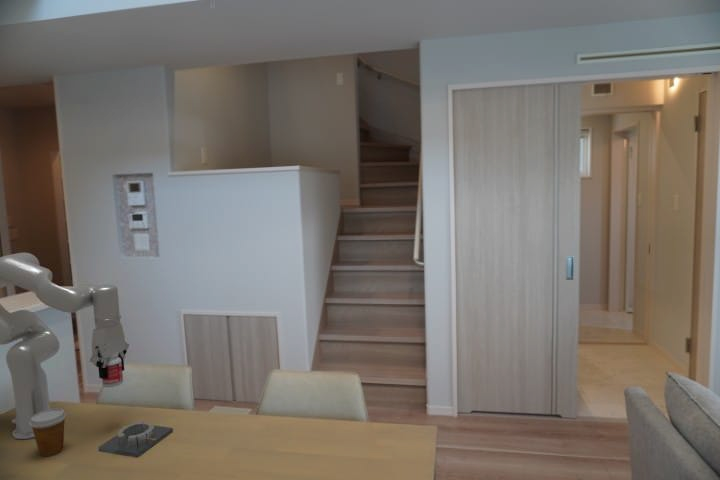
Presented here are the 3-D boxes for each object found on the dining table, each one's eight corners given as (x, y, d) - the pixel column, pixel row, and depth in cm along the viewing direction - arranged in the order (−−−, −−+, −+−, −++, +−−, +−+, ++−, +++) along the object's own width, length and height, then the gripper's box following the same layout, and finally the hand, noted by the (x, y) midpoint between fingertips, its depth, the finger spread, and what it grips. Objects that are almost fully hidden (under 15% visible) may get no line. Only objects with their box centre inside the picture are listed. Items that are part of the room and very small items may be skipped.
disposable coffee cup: (76, 446, 153) (72, 410, 152) (45, 462, 144) (41, 424, 143) (56, 440, 157) (53, 405, 156) (26, 456, 148) (22, 418, 147)
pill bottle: (124, 385, 161) (121, 353, 160) (103, 389, 158) (101, 357, 157) (121, 379, 166) (119, 348, 165) (101, 383, 163) (99, 352, 162)
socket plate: (98, 450, 150) (97, 439, 150) (136, 426, 165) (135, 415, 165) (137, 457, 146) (136, 445, 145) (173, 431, 161) (172, 420, 160)
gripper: (118, 314, 169) (122, 364, 171) (76, 329, 153) (81, 383, 155) (136, 316, 167) (140, 366, 169) (95, 330, 150) (100, 385, 152)
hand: (112, 373), depth 162 cm, fingers closed on pill bottle, 6 cm apart
